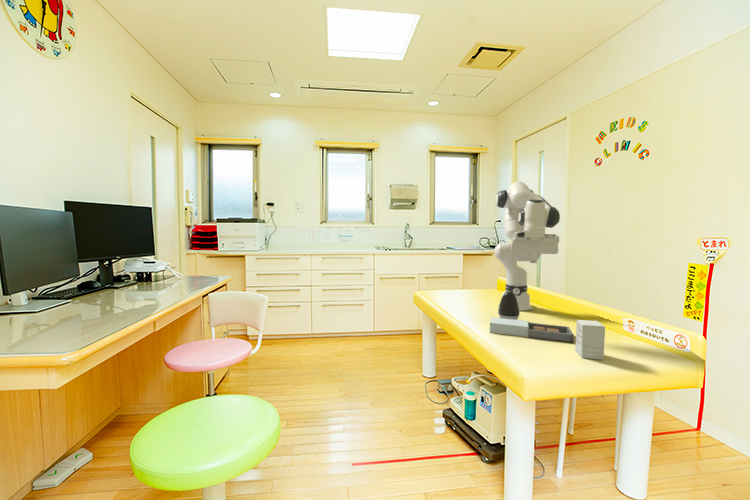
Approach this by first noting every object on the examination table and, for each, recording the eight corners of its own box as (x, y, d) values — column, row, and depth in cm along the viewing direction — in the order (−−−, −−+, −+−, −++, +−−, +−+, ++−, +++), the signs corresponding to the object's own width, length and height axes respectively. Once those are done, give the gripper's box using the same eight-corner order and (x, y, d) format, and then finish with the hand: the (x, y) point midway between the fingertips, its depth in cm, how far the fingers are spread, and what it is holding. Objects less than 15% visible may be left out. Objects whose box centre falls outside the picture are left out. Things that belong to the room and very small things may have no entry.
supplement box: (596, 353, 126) (598, 320, 125) (603, 360, 119) (605, 326, 118) (574, 350, 128) (576, 319, 127) (580, 358, 121) (582, 324, 120)
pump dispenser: (515, 318, 174) (516, 289, 172) (522, 323, 163) (523, 293, 162) (495, 317, 175) (496, 289, 173) (501, 323, 164) (502, 293, 163)
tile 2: (557, 328, 145) (557, 334, 146) (546, 327, 147) (546, 333, 147) (559, 331, 141) (559, 337, 141) (547, 330, 143) (547, 336, 143)
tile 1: (533, 331, 149) (533, 326, 149) (544, 332, 147) (544, 327, 147) (533, 334, 145) (534, 329, 145) (545, 336, 143) (545, 330, 143)
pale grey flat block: (490, 326, 159) (490, 317, 159) (526, 330, 153) (527, 320, 153) (489, 332, 150) (489, 322, 149) (528, 337, 144) (528, 326, 143)
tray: (526, 329, 154) (527, 322, 154) (568, 334, 147) (568, 326, 147) (528, 337, 143) (528, 329, 142) (573, 343, 136) (573, 334, 136)
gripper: (558, 234, 154) (557, 263, 155) (511, 233, 161) (510, 261, 162) (560, 234, 148) (559, 264, 149) (511, 233, 155) (510, 262, 156)
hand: (533, 263), depth 155 cm, fingers closed
